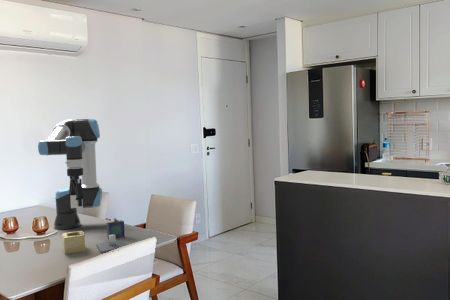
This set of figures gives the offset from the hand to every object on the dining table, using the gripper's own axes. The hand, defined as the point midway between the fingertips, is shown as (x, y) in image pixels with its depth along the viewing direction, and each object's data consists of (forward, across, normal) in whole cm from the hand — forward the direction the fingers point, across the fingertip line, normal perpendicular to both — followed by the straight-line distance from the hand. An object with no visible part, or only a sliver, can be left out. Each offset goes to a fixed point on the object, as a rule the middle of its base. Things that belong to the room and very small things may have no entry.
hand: (76, 210), depth 206 cm
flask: (+20, -9, +22) cm, 31 cm away
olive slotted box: (+20, 0, -2) cm, 20 cm away
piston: (+20, +6, +15) cm, 26 cm away
